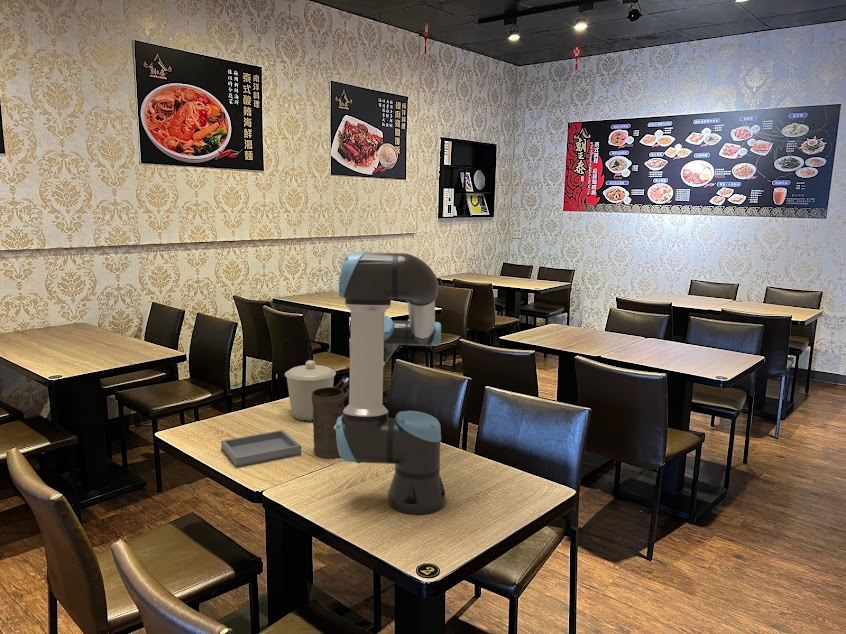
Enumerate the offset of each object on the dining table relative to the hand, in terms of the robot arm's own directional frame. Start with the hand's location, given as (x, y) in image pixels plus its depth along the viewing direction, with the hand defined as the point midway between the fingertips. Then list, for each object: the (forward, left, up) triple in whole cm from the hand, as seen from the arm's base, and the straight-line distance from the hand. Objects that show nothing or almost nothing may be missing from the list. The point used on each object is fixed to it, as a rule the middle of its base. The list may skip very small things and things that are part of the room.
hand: (327, 426), depth 193 cm
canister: (+35, -9, -9) cm, 37 cm away
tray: (+11, +17, -9) cm, 22 cm away
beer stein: (+1, -3, -9) cm, 10 cm away
